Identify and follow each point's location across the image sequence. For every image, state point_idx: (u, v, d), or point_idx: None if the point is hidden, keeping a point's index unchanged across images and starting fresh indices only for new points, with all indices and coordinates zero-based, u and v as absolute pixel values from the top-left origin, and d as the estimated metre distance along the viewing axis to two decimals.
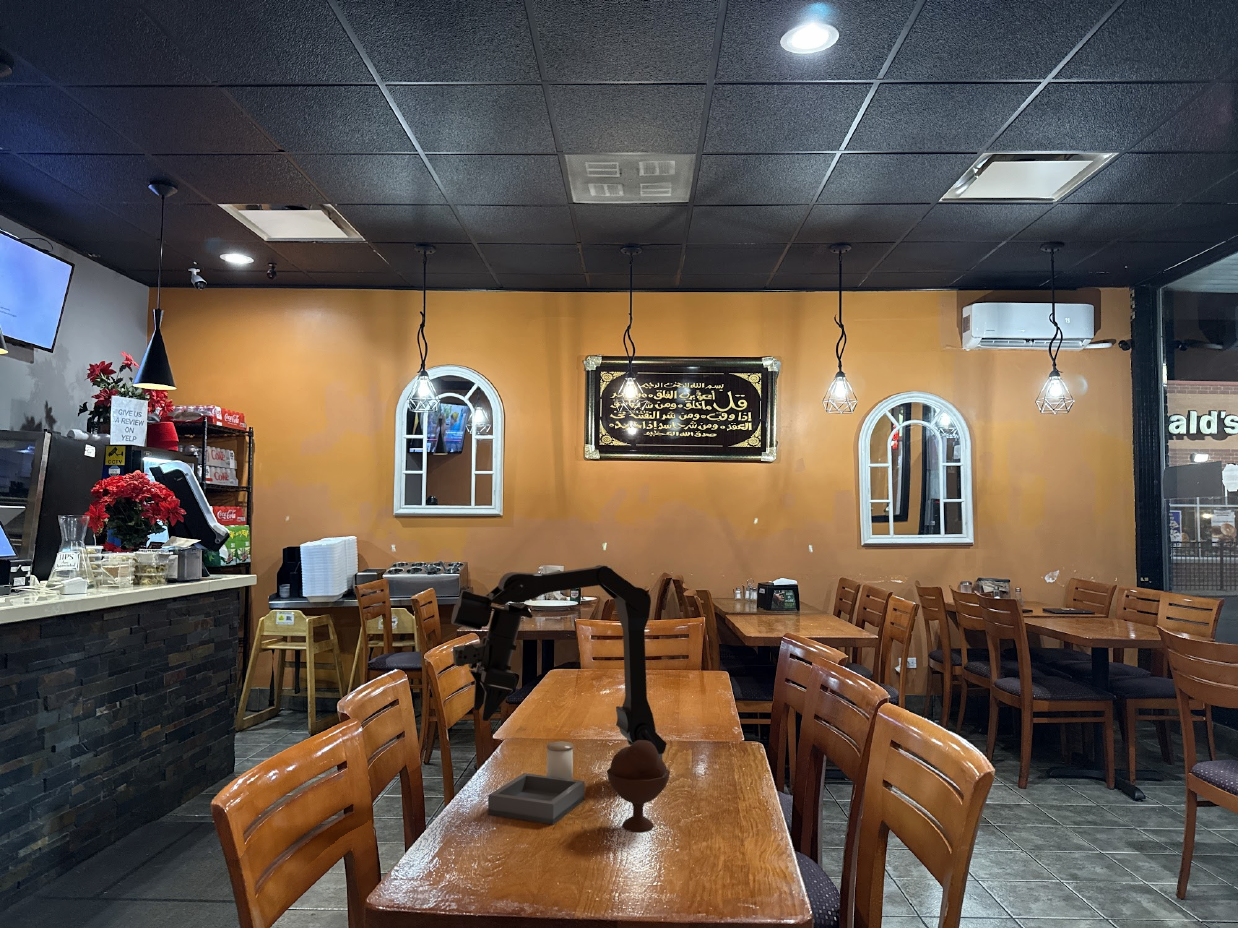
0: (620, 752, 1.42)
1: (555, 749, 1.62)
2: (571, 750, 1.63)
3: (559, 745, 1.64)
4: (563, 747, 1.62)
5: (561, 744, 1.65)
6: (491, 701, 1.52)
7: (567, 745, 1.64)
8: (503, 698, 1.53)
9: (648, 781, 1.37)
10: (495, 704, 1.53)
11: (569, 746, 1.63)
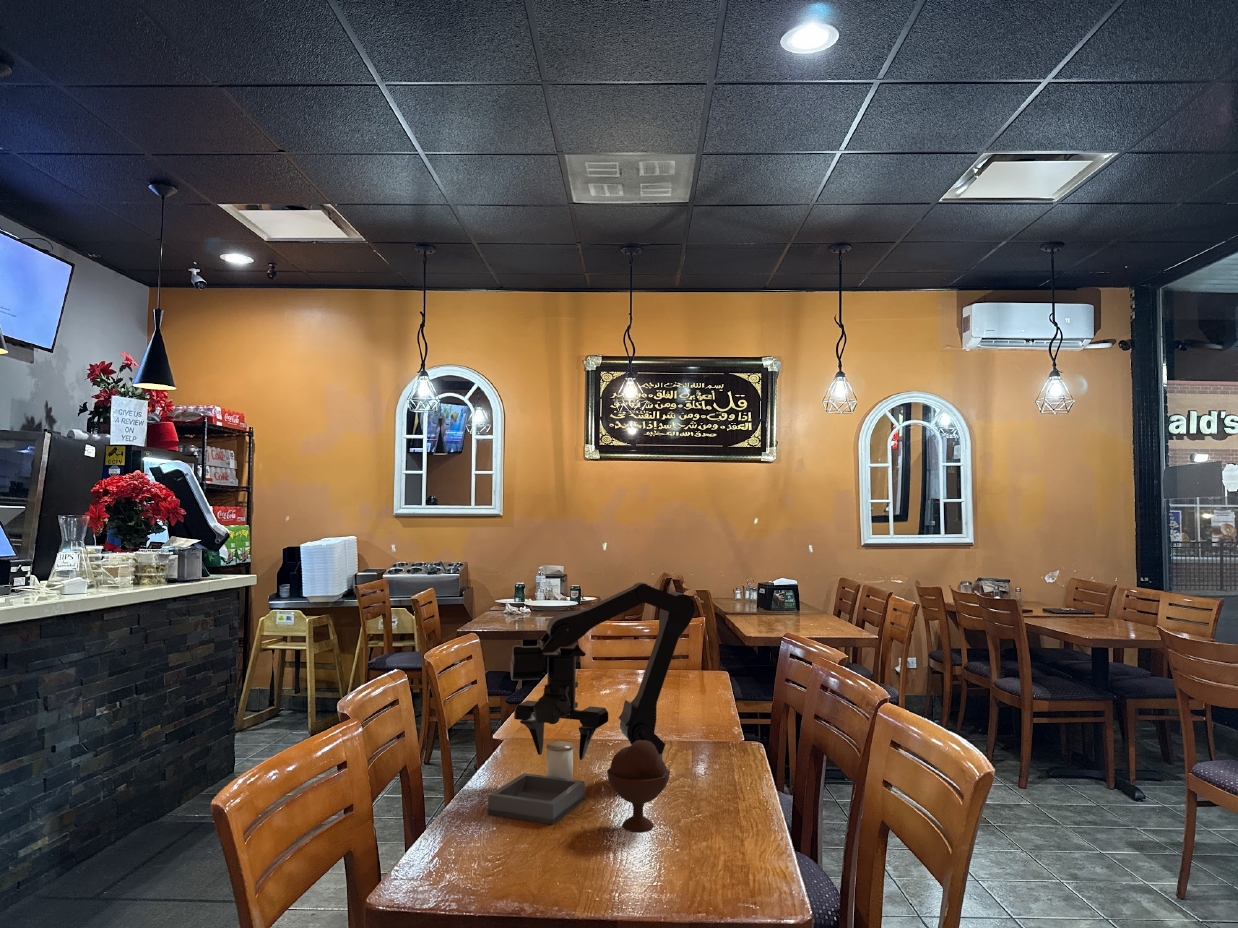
0: (620, 752, 1.42)
1: (555, 749, 1.62)
2: (571, 750, 1.63)
3: (559, 745, 1.64)
4: (563, 747, 1.62)
5: (561, 744, 1.65)
6: (587, 740, 1.62)
7: (567, 745, 1.64)
8: (593, 732, 1.64)
9: (648, 781, 1.37)
10: (588, 741, 1.63)
11: (569, 746, 1.63)
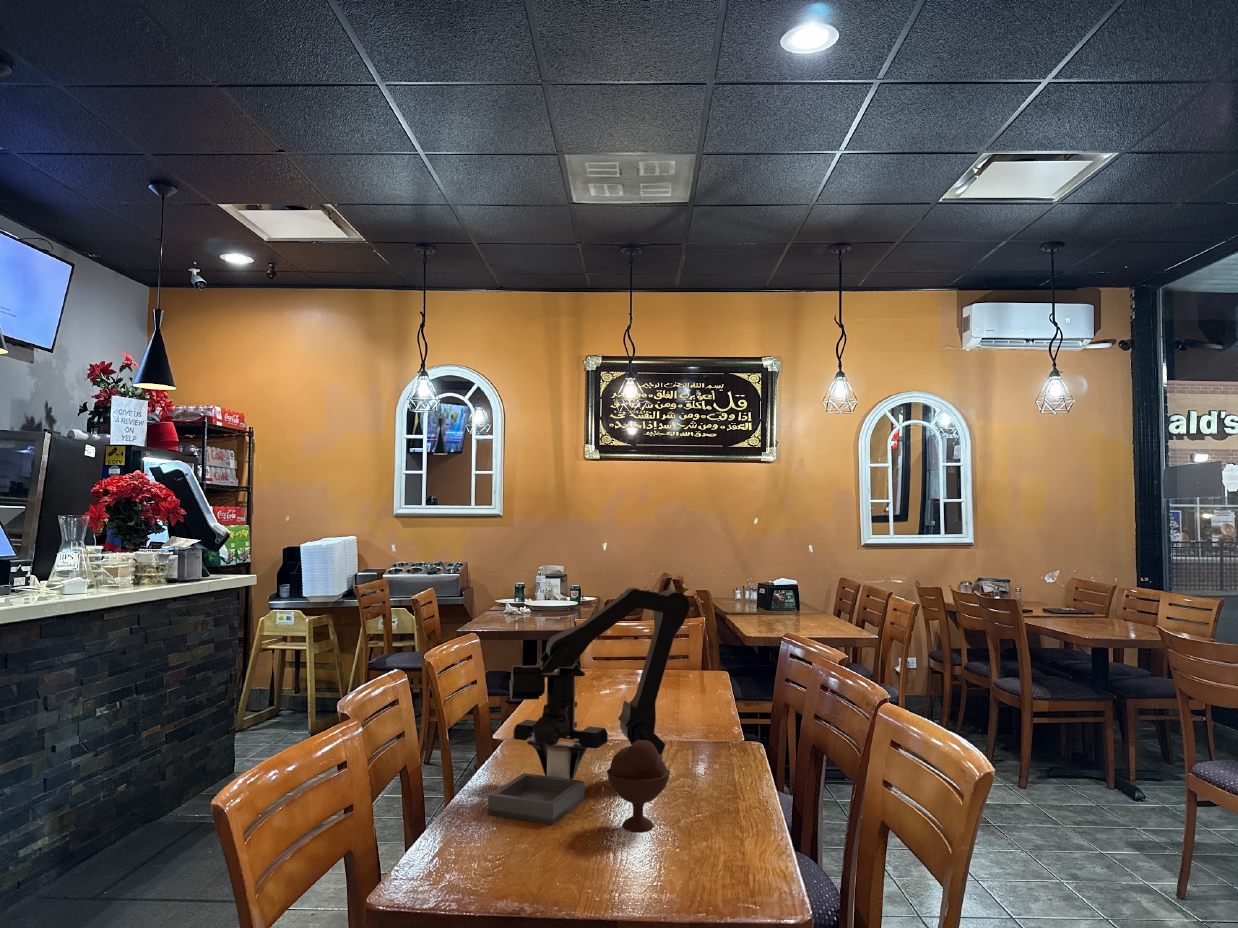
0: (620, 752, 1.42)
1: (555, 749, 1.62)
2: None
3: (559, 745, 1.64)
4: (563, 747, 1.62)
5: (561, 744, 1.65)
6: (577, 759, 1.63)
7: (567, 745, 1.64)
8: (584, 752, 1.64)
9: (648, 781, 1.37)
10: (579, 760, 1.63)
11: (569, 746, 1.63)
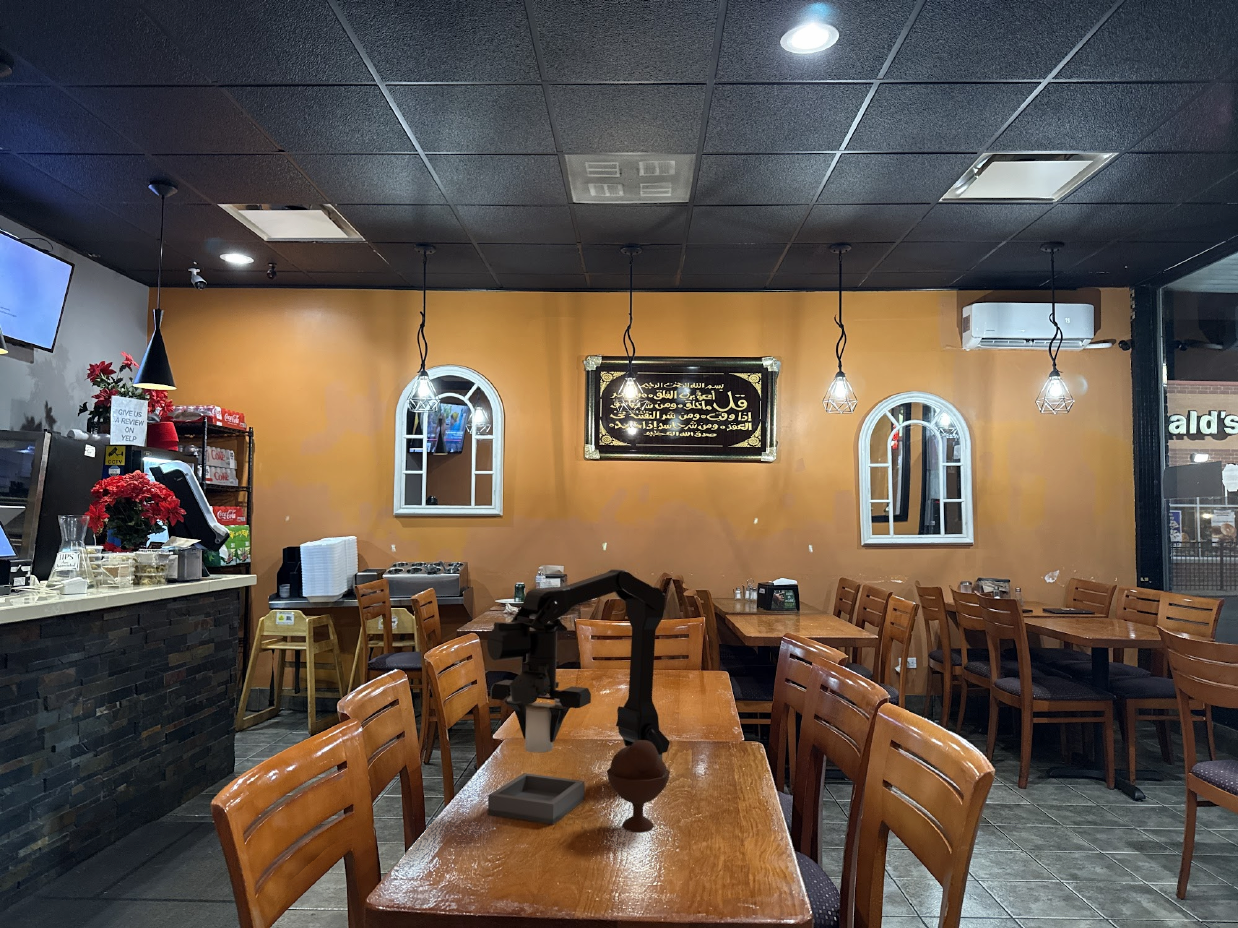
0: (620, 752, 1.42)
1: (534, 709, 1.51)
2: None
3: (539, 706, 1.53)
4: (543, 707, 1.52)
5: (541, 705, 1.54)
6: (558, 721, 1.52)
7: (548, 706, 1.53)
8: (565, 713, 1.53)
9: (648, 781, 1.37)
10: (560, 722, 1.53)
11: None
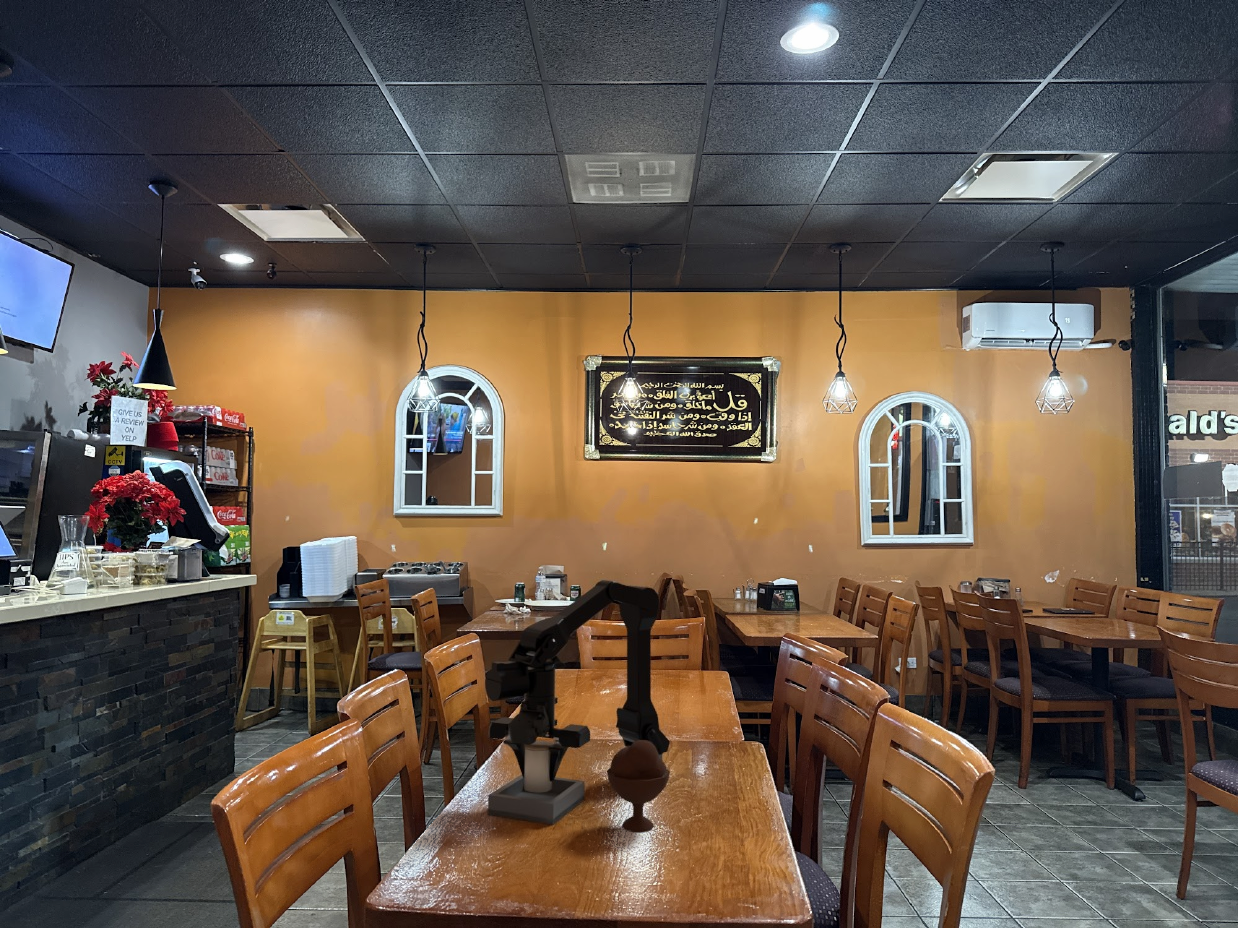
0: (620, 752, 1.42)
1: (533, 749, 1.49)
2: None
3: (538, 744, 1.51)
4: (542, 746, 1.50)
5: (540, 743, 1.52)
6: (558, 760, 1.50)
7: (546, 744, 1.52)
8: (565, 752, 1.52)
9: (648, 781, 1.37)
10: (560, 761, 1.51)
11: (549, 745, 1.51)
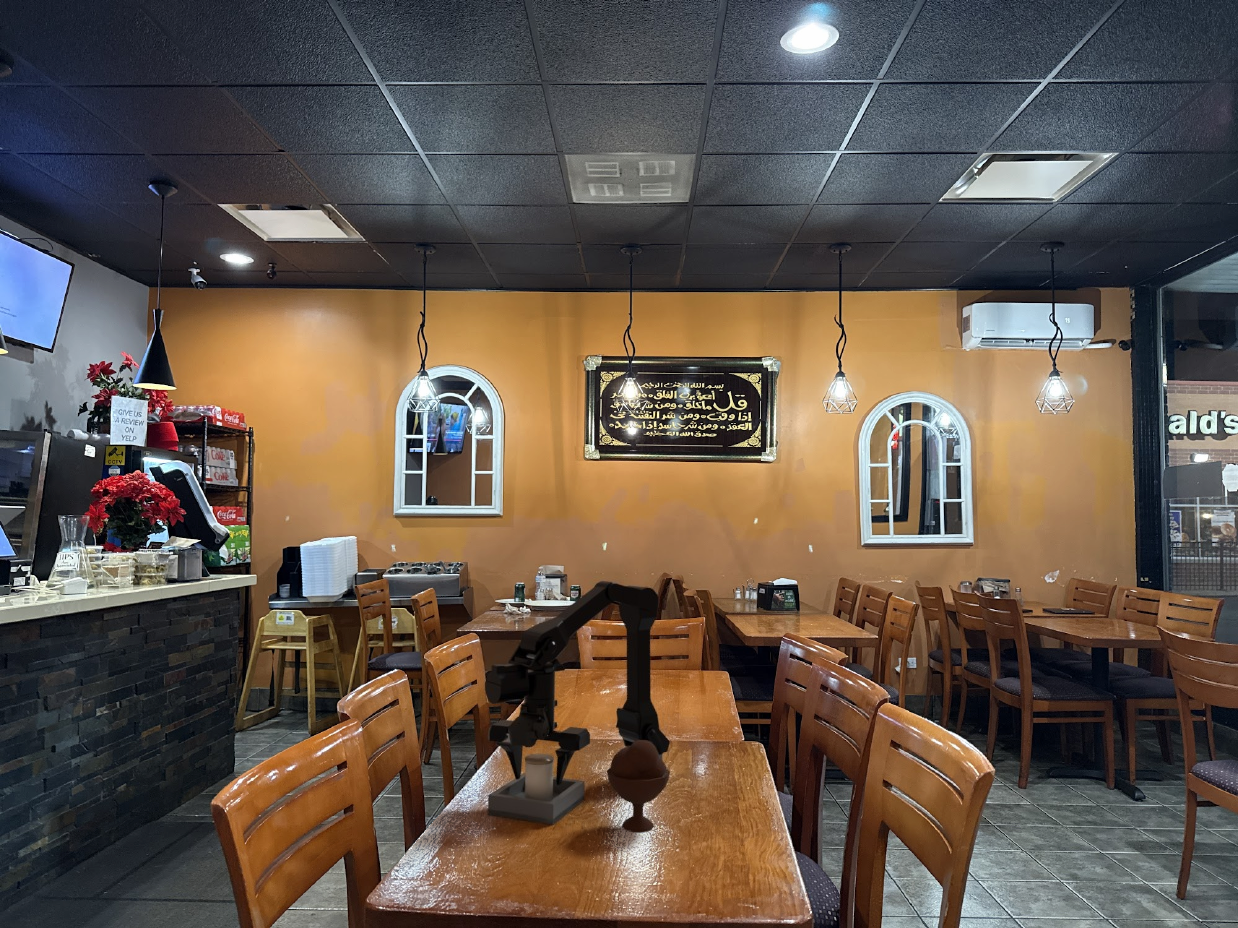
0: (620, 752, 1.42)
1: (534, 762, 1.49)
2: (551, 763, 1.51)
3: (538, 758, 1.51)
4: (542, 760, 1.50)
5: (541, 757, 1.52)
6: (564, 763, 1.50)
7: (547, 758, 1.51)
8: (571, 755, 1.51)
9: (648, 781, 1.37)
10: (566, 764, 1.51)
11: (549, 759, 1.51)
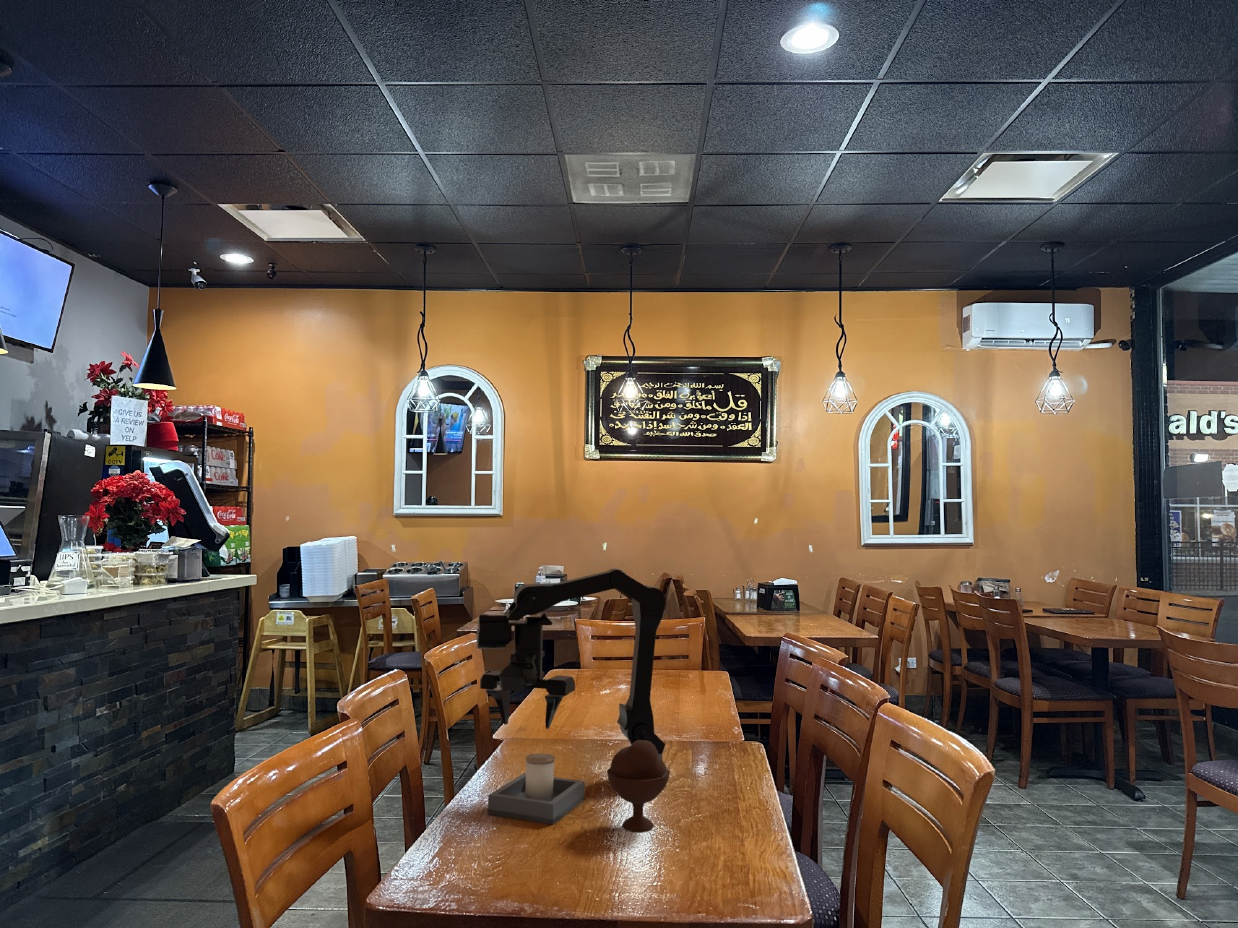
0: (620, 752, 1.42)
1: (534, 762, 1.49)
2: (552, 763, 1.51)
3: (539, 757, 1.51)
4: (543, 760, 1.50)
5: (541, 756, 1.52)
6: (553, 709, 1.61)
7: (548, 758, 1.51)
8: (559, 702, 1.63)
9: (648, 781, 1.37)
10: (555, 710, 1.62)
11: (550, 759, 1.51)
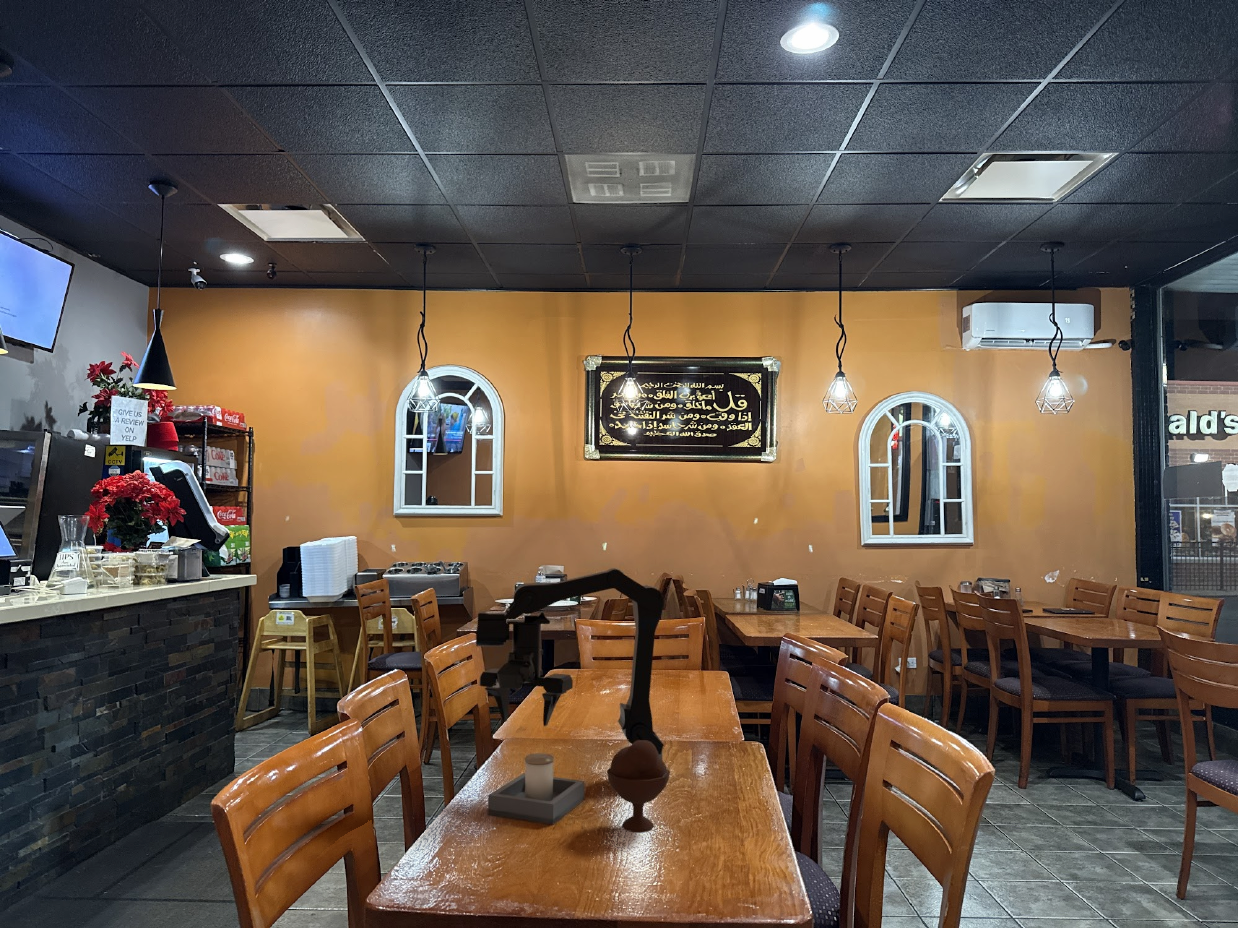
0: (620, 752, 1.42)
1: (533, 763, 1.49)
2: (551, 763, 1.50)
3: (538, 758, 1.51)
4: (542, 760, 1.50)
5: (541, 757, 1.52)
6: (551, 706, 1.63)
7: (547, 758, 1.51)
8: (557, 699, 1.65)
9: (648, 781, 1.37)
10: (553, 708, 1.64)
11: (549, 759, 1.50)
